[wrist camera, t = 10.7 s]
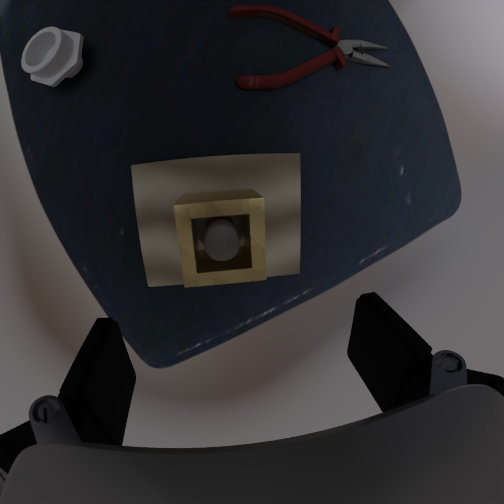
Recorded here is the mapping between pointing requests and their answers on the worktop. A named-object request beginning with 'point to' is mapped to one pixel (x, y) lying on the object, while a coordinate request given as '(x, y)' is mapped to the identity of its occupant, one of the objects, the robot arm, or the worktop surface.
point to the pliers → (329, 38)
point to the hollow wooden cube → (248, 256)
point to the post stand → (221, 227)
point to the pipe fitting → (53, 55)
